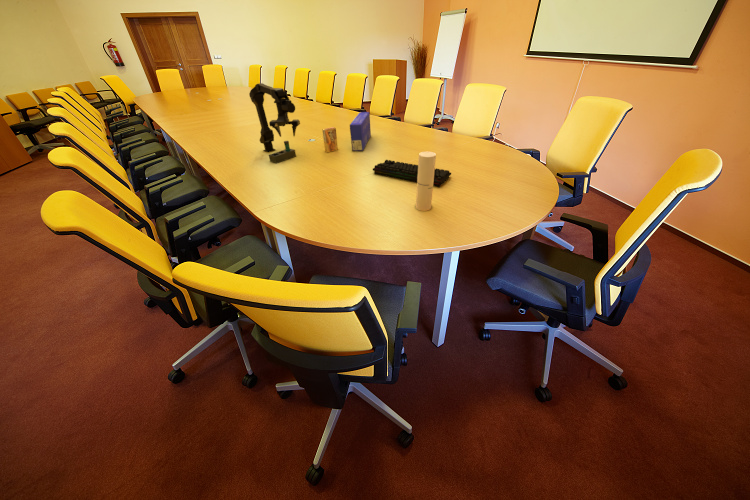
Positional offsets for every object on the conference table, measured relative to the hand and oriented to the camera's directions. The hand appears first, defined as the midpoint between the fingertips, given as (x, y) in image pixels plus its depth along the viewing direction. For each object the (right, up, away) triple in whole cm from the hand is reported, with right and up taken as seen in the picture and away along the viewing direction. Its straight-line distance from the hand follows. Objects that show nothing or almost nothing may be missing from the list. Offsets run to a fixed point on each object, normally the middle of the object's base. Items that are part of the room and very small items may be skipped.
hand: (287, 136), depth 192 cm
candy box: (+27, -3, +17) cm, 32 cm away
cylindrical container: (+82, -56, -56) cm, 113 cm away
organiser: (-5, -13, +6) cm, 15 cm away
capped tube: (-1, -10, +9) cm, 14 cm away
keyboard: (+79, -33, -25) cm, 90 cm away
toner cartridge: (+49, +6, +29) cm, 57 cm away
